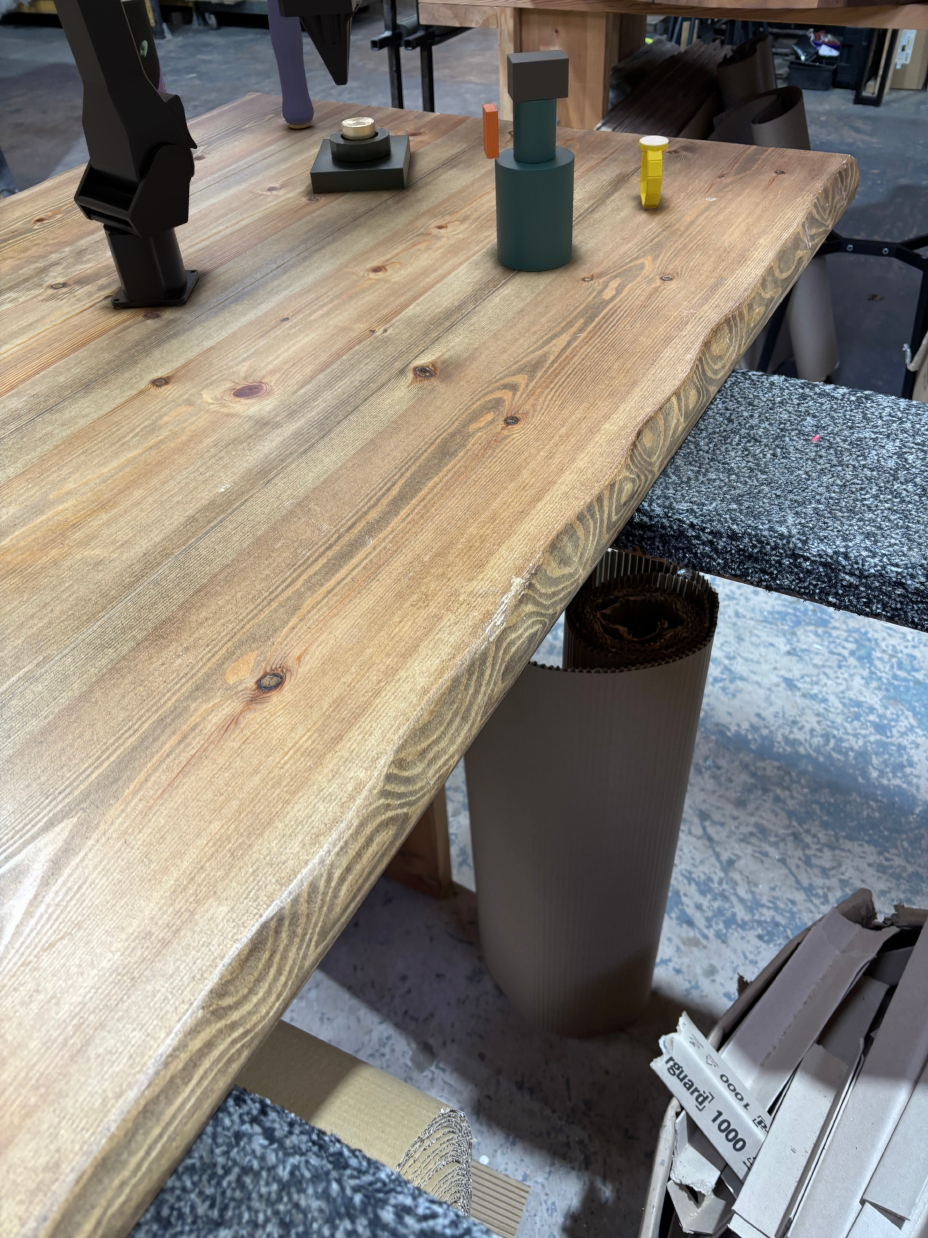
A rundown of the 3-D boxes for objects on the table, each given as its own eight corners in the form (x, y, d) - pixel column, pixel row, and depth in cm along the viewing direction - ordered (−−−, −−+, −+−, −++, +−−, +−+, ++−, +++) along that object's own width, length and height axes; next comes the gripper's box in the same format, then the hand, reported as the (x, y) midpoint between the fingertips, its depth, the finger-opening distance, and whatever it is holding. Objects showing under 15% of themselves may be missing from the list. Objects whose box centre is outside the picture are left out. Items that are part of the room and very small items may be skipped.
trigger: (487, 158, 78) (485, 111, 75) (483, 150, 80) (482, 103, 77) (499, 157, 78) (498, 110, 75) (495, 149, 80) (494, 102, 77)
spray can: (175, 163, 111) (125, -40, 98) (130, 165, 111) (74, -37, 98) (186, 149, 115) (140, -48, 102) (143, 151, 115) (90, -45, 102)
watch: (631, 193, 96) (636, 130, 92) (659, 192, 95) (664, 129, 91) (637, 214, 91) (642, 149, 87) (666, 213, 91) (672, 148, 87)
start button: (374, 142, 101) (372, 125, 100) (341, 144, 101) (339, 127, 100) (377, 133, 104) (375, 115, 102) (345, 134, 104) (343, 117, 103)
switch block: (405, 189, 100) (401, 149, 98) (313, 193, 101) (306, 154, 98) (410, 154, 109) (407, 116, 106) (326, 158, 109) (320, 121, 107)
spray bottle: (502, 274, 82) (497, 69, 72) (492, 245, 87) (486, 49, 76) (578, 267, 83) (585, 62, 72) (564, 238, 88) (568, 43, 77)
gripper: (401, -118, 71) (420, 106, 82) (415, -141, 85) (430, 54, 96) (258, -108, 72) (295, 114, 83) (295, -132, 86) (323, 61, 96)
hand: (342, 83), depth 89 cm, fingers closed
